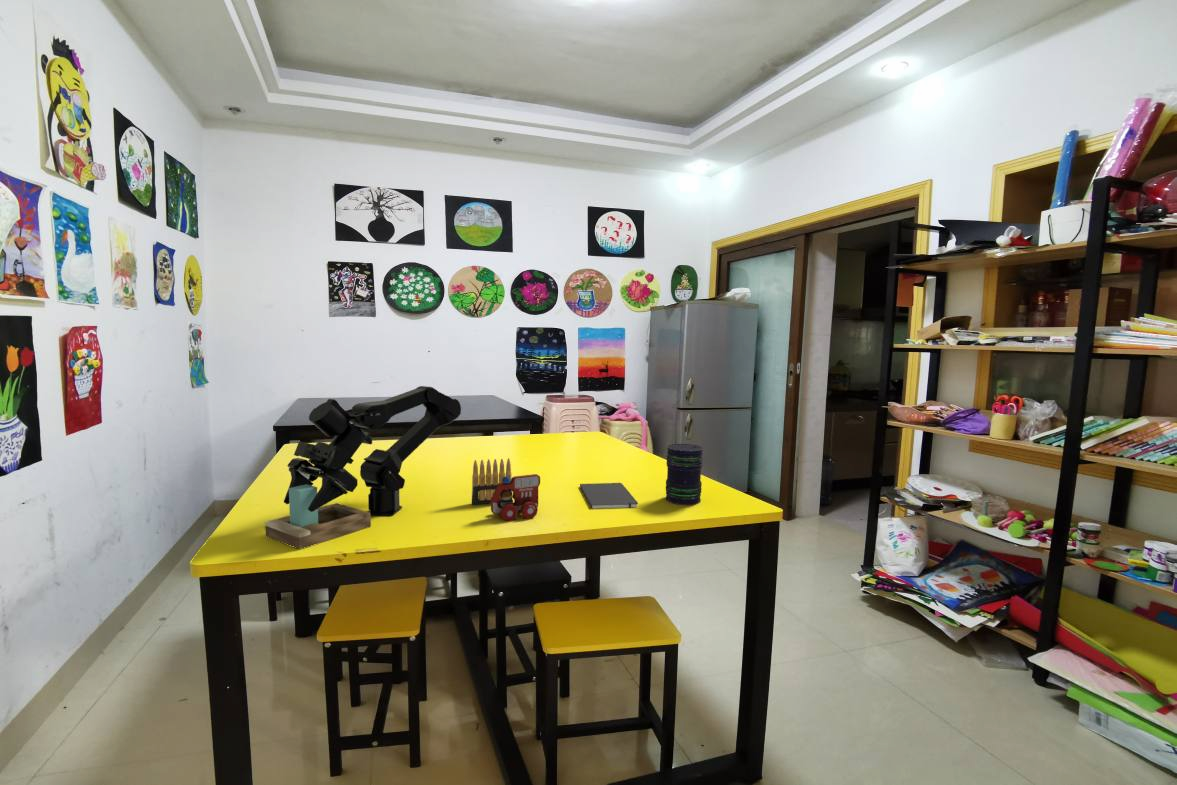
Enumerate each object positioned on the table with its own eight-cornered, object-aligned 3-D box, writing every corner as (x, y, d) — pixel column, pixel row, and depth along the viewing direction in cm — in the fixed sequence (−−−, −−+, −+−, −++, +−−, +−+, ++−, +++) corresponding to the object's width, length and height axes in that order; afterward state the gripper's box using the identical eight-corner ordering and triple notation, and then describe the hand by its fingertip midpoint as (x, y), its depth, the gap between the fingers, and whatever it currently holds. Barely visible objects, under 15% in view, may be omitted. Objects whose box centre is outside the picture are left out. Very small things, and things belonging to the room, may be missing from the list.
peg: (310, 528, 127) (308, 481, 126) (328, 535, 123) (327, 486, 122) (279, 537, 121) (278, 488, 120) (298, 544, 117) (296, 494, 116)
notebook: (579, 488, 166) (591, 510, 145) (579, 483, 166) (591, 505, 145) (621, 487, 168) (638, 509, 147) (621, 482, 168) (638, 503, 147)
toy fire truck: (487, 514, 139) (487, 473, 138) (534, 509, 144) (535, 470, 143) (494, 523, 133) (494, 480, 132) (543, 517, 138) (544, 476, 137)
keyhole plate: (336, 516, 136) (336, 503, 135) (370, 526, 129) (370, 512, 128) (265, 536, 121) (265, 522, 121) (299, 549, 114) (299, 534, 114)
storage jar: (668, 505, 150) (670, 450, 148) (662, 494, 160) (664, 443, 158) (705, 505, 150) (707, 451, 149) (696, 495, 160) (698, 444, 158)
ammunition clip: (472, 505, 146) (472, 460, 145) (471, 503, 148) (471, 459, 147) (512, 502, 150) (512, 458, 148) (511, 500, 151) (511, 457, 150)
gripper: (294, 423, 128) (245, 480, 120) (343, 431, 118) (295, 494, 110) (327, 451, 135) (283, 506, 127) (376, 461, 125) (332, 522, 117)
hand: (297, 506), depth 120 cm, fingers open, 9 cm apart
